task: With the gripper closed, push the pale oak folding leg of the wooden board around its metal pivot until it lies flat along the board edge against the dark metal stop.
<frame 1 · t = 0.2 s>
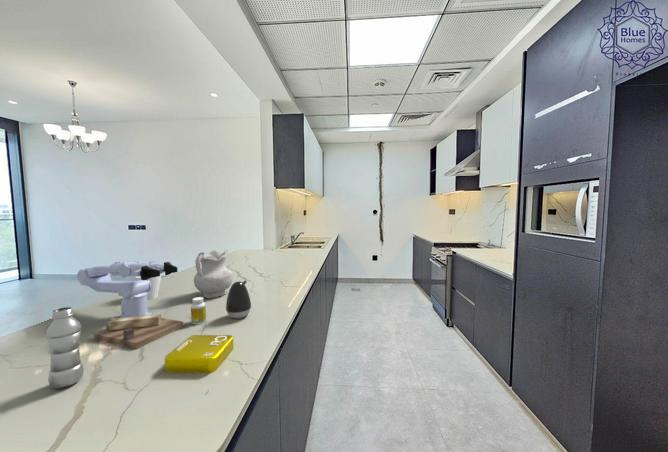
hand: (168, 271, 108), 21 cm above the countertop, tool horizontal, fingers open, 7 cm apart
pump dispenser: (239, 316, 115), on the countertop
supplement bottle: (198, 322, 109), on the countertop
plastic bottle: (67, 384, 70), on the countertop
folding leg: (134, 321, 100), point 4 cm above the countertop, hinge at 35.0°
cup: (149, 298, 141), on the countertop
ceramic pitcher: (213, 295, 145), on the countertop
wooden board: (140, 332, 100), on the countertop
element tile: (202, 360, 82), on the countertop
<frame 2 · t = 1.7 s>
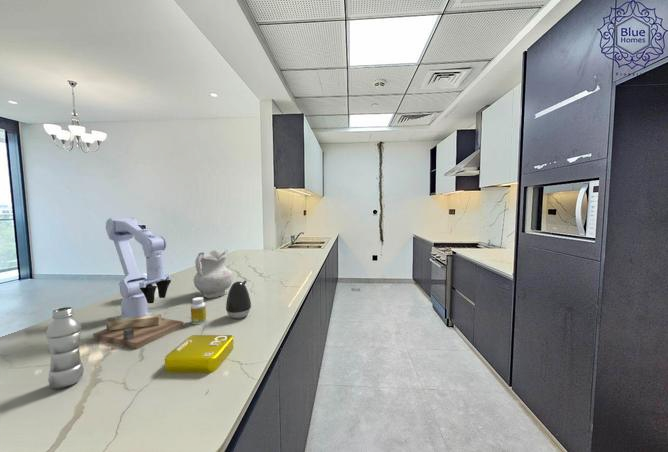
hand: (156, 300, 108), 9 cm above the countertop, tool pointing down, fingers open, 6 cm apart
nothing on the countertop moved.
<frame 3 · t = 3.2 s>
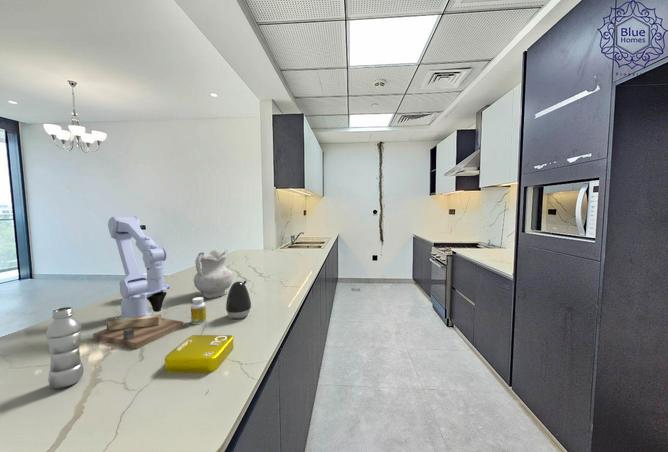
hand: (157, 311, 108), 5 cm above the countertop, tool pointing down, fingers closed
nothing on the countertop moved.
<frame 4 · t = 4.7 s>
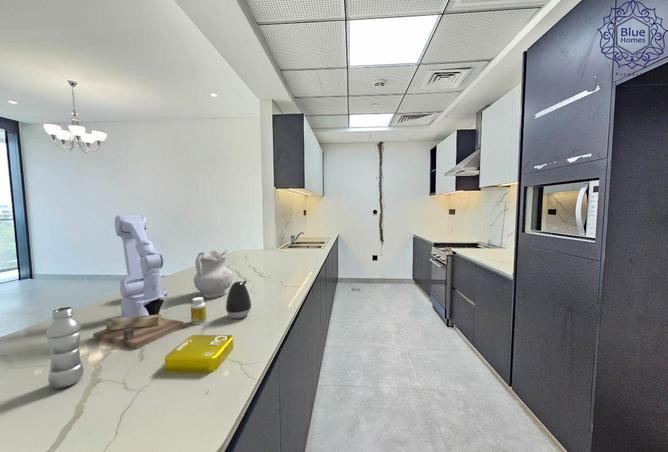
hand: (154, 319, 105), 3 cm above the countertop, tool pointing down, fingers closed
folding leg: (134, 321, 100), point 4 cm above the countertop, hinge at 34.9°, touching gripper
everything else where it was.
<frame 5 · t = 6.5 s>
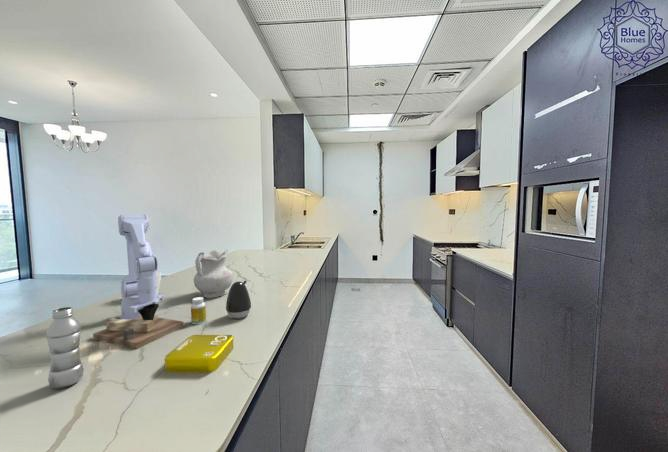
hand: (148, 324, 100), 3 cm above the countertop, tool pointing down, fingers closed
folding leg: (129, 324, 98), point 4 cm above the countertop, hinge at 13.5°, touching gripper
everything else where it was.
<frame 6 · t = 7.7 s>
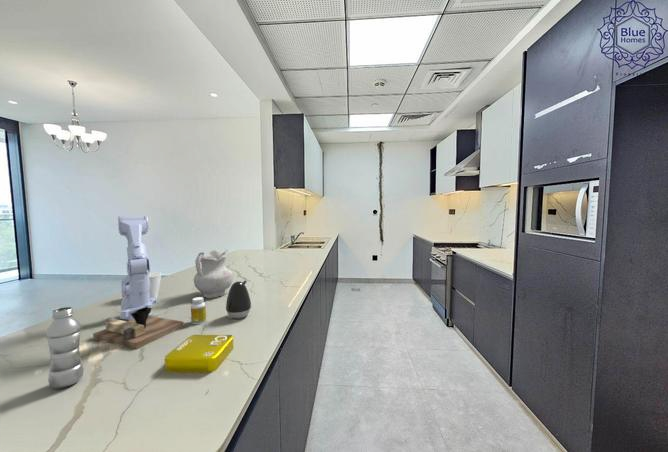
hand: (141, 328, 96), 3 cm above the countertop, tool pointing down, fingers closed
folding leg: (123, 326, 96), point 4 cm above the countertop, hinge at -1.5°, touching gripper, wooden board
everything else where it was.
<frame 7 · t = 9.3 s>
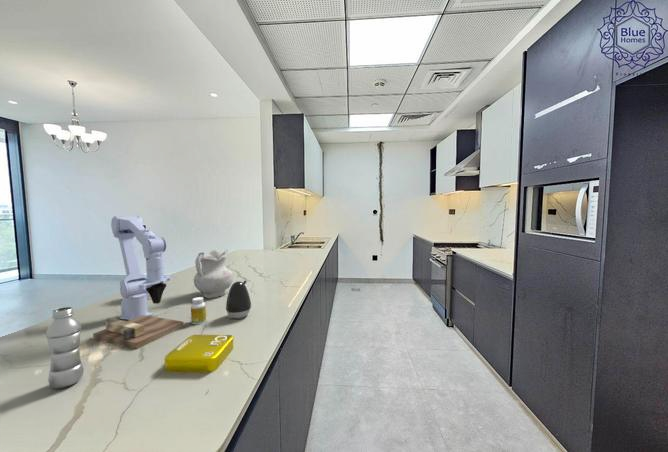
hand: (156, 302, 105), 9 cm above the countertop, tool pointing down, fingers closed
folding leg: (123, 326, 96), point 4 cm above the countertop, hinge at -1.5°, touching wooden board
everything else where it was.
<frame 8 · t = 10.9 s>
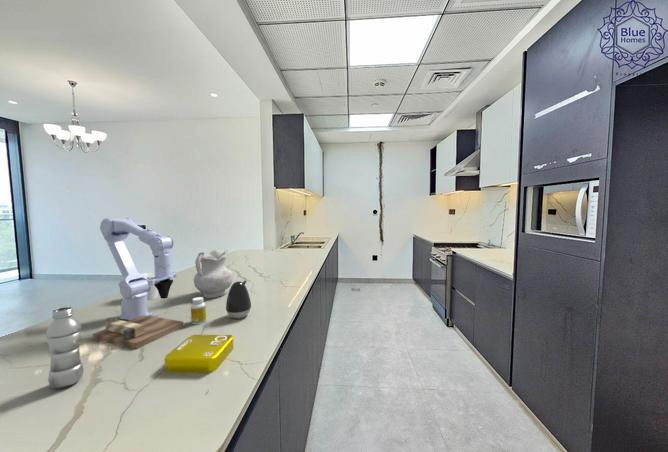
hand: (164, 297, 111), 9 cm above the countertop, tool pointing down, fingers closed
nothing on the countertop moved.
at the end: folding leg at -2° (first picture: +35°) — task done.
